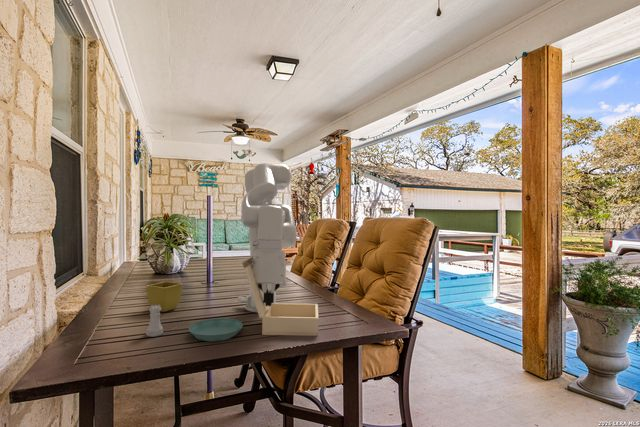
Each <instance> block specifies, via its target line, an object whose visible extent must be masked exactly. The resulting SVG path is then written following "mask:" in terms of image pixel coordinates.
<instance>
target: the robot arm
mask: <svg viewBox="0 0 640 427" xmlns="http://www.w3.org/2000/svg"><path fill="white" fill-rule="evenodd" d="M291 173H292V172H291V169H290V167H288V165H286V164H284V163H281V164H280V163H267V162H265V163H258V164H257V165H256V166H254V168H252V169H249V170H247V172H246V173H245V176H244V187H245V192H246V194H245V195H244V197H243V198H242V201H241V213H240V214H241V218H240V219H241V223H242V225H243V226H244V227H245V228H247V229H248V242H249V252H250V257H252V256H254V257H253V265H252V272H253V276H254V279H255V282H256V283H257V284H258V287H259V288H260V289H261V290H262V291H263V293H264V303H266V304H265V306H271V305H272V303H277V300H276V298H277V296H276V294H277V290H278V289H279V288H282V287H287V279H286V276H287V264H286V263H287V262H286V253H285V250H284V249H289V248H293V247H294V246H295V244H296V242H297V240H298V239H297V229H296V223H295V218H294V217H295V216H294V212H293V209H292V207H291V206H290V205H288V204H284V203H283V204H280V203H273V200H274V199H275V198H276V197H277V195H278V191H279V190H280V191H283V190H285V189H286V188H287V187H289V185H290V183H291V180H292V179H291V178H292V174H291ZM250 257H249V258H250ZM237 302H239V303H241V304H243V303H244V304H245V305H244V309H245V310H246V311H247V312H251V313H258V311H257V308H256V305H255V301H254V298H253V295H252V292H251V288H250V287H249V295H246V296H237Z"/></svg>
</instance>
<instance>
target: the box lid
mask: <svg viewBox="0 0 640 427" xmlns="http://www.w3.org/2000/svg"><path fill="white" fill-rule="evenodd" d="M253 257H254V256H252V257H249V258H247V259H245V261H243V262H242V267H243V269H244V272H245V275H246V278H247V282H248V285H249V289H250V288H251V292H252V295H253V298H254V301H255V305H256V308H257V311H258V312H257V314H258V317H259V319H263V315H264V313H265V311H266V309H267V307H268V306H265V304H266V303H264V293H263V291H262V290H261V289H260V288H259V287H258V284H257V283H256V282H255V279H254V276H253V272H252V265H253Z"/></svg>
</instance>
